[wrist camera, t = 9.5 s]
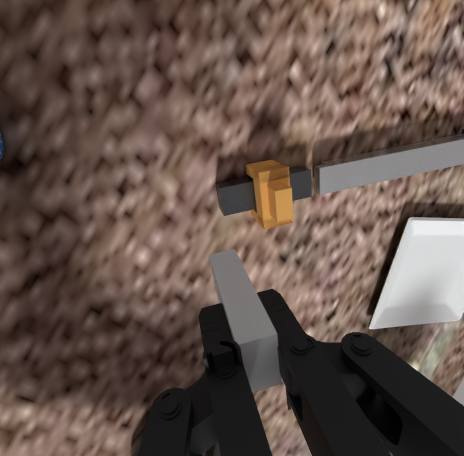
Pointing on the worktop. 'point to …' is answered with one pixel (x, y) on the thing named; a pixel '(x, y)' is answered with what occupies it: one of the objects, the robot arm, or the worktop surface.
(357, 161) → the bar
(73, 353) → the worktop surface
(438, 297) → the plate
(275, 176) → the orange stepped block
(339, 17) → the worktop surface
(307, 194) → the base
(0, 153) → the snack cup
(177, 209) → the worktop surface
